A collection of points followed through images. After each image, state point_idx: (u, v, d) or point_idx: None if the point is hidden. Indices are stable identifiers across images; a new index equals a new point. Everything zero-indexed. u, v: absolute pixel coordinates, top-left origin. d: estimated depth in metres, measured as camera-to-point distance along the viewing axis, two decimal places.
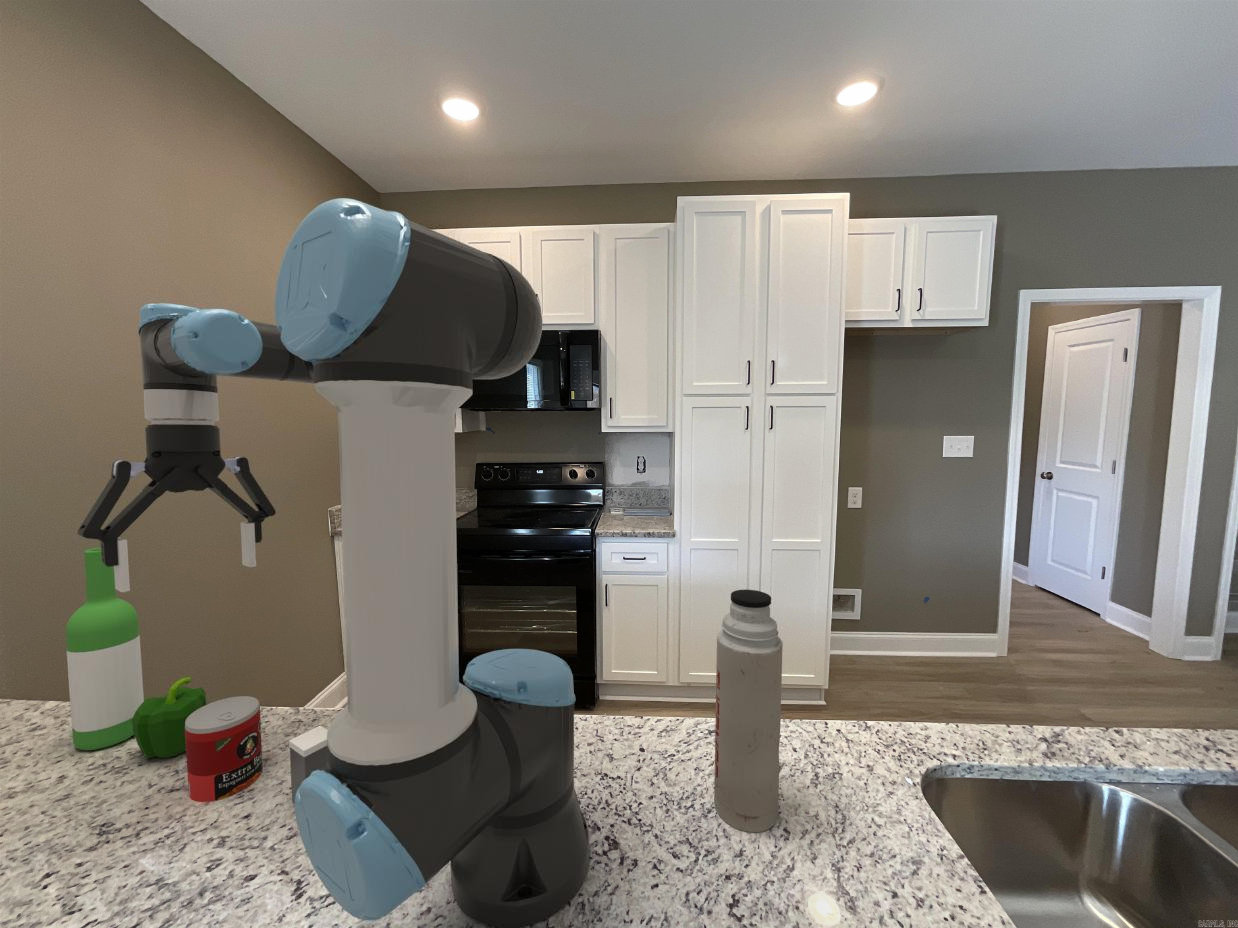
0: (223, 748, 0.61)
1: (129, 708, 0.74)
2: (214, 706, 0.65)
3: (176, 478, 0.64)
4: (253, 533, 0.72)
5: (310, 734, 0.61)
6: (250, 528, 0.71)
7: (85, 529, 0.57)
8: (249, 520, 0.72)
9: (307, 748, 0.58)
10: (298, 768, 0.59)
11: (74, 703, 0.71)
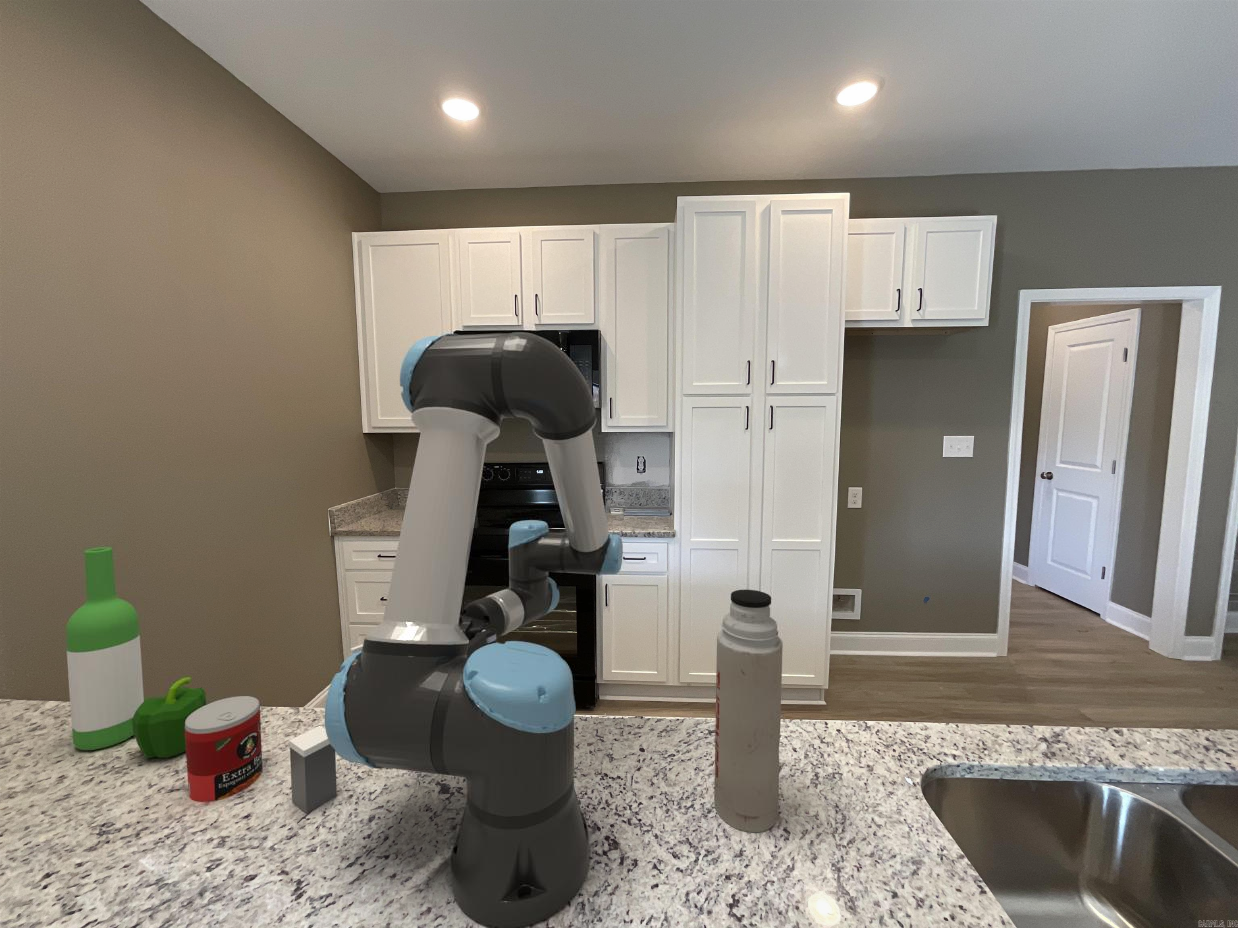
0: (223, 748, 0.61)
1: (129, 708, 0.74)
2: (214, 706, 0.65)
3: None
4: None
5: (310, 734, 0.61)
6: None
7: None
8: None
9: (307, 748, 0.58)
10: (298, 768, 0.59)
11: (74, 703, 0.71)
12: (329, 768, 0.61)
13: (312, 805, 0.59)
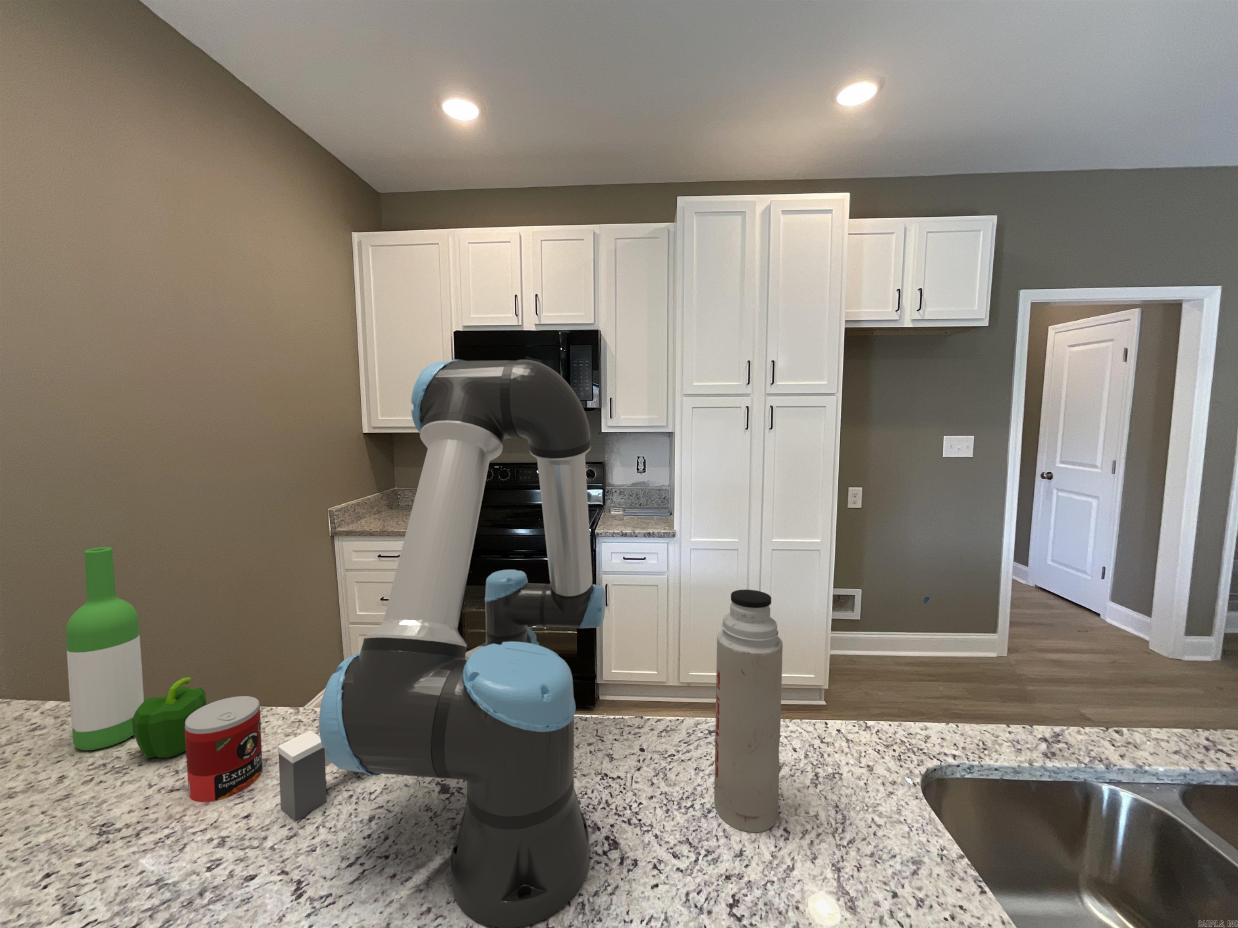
0: (223, 748, 0.61)
1: (129, 708, 0.74)
2: (214, 706, 0.65)
3: None
4: None
5: (299, 739, 0.60)
6: None
7: None
8: None
9: (296, 754, 0.57)
10: (287, 774, 0.58)
11: (74, 703, 0.71)
12: (318, 774, 0.60)
13: (301, 812, 0.58)
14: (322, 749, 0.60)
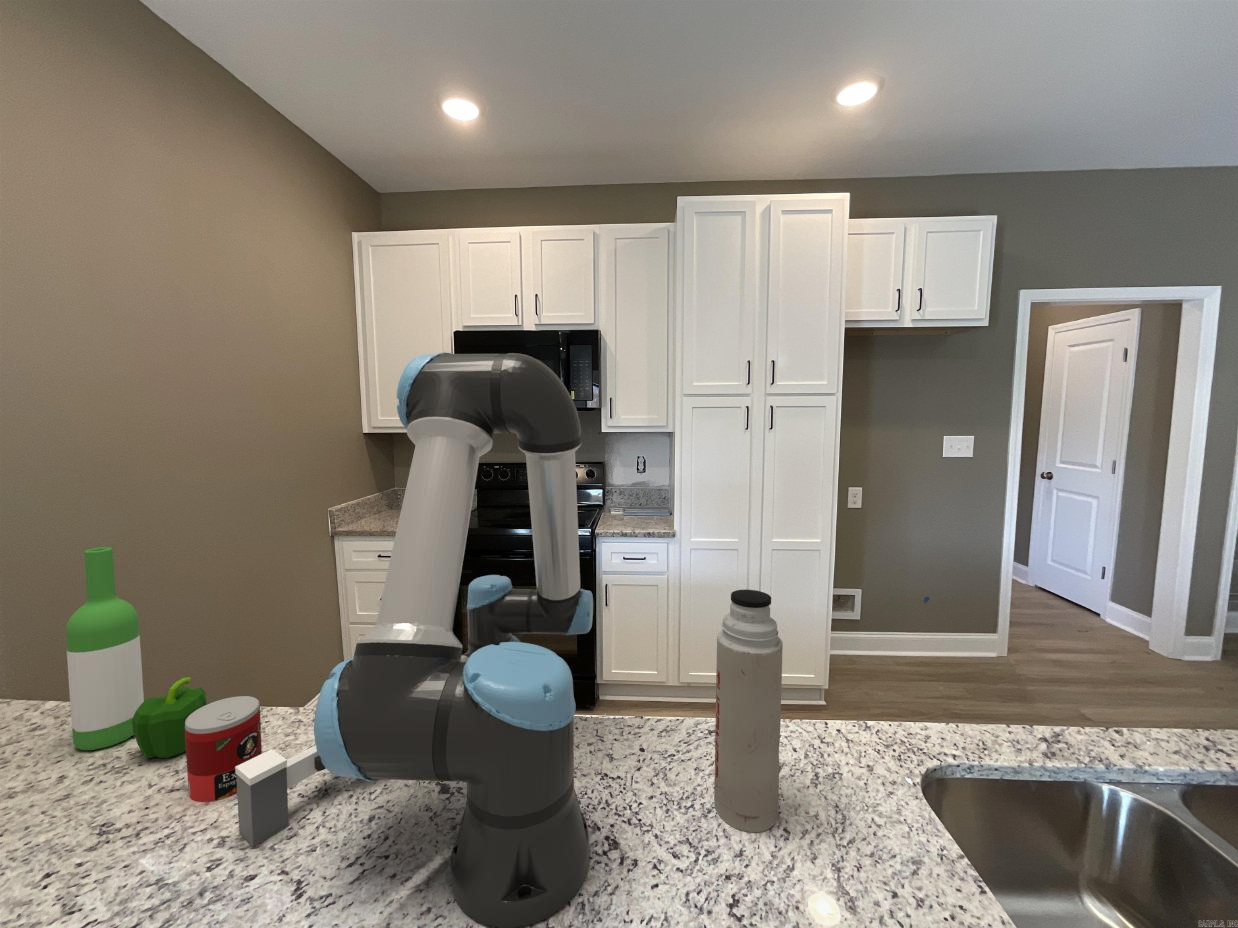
0: (223, 748, 0.61)
1: (129, 708, 0.74)
2: (214, 706, 0.65)
3: None
4: None
5: (259, 759, 0.56)
6: None
7: None
8: None
9: (254, 776, 0.54)
10: (244, 797, 0.54)
11: (74, 703, 0.71)
12: (279, 796, 0.56)
13: (260, 837, 0.54)
14: (283, 769, 0.56)
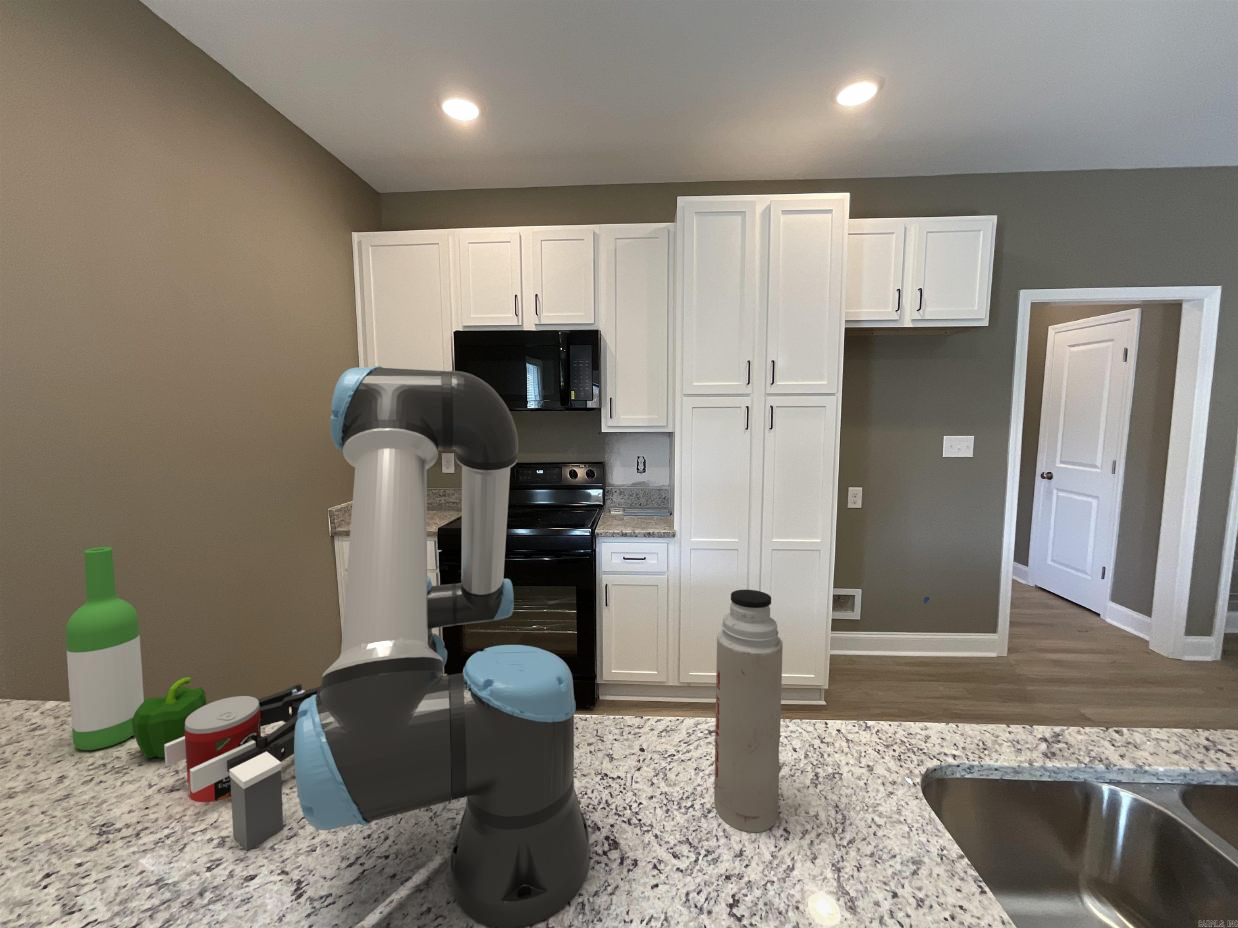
0: (223, 748, 0.61)
1: (129, 708, 0.74)
2: (214, 706, 0.65)
3: (305, 693, 0.73)
4: (241, 748, 0.62)
5: (254, 762, 0.56)
6: (247, 743, 0.62)
7: None
8: None
9: (248, 779, 0.53)
10: (238, 800, 0.54)
11: (74, 703, 0.71)
12: (274, 799, 0.55)
13: (254, 841, 0.54)
14: (278, 772, 0.56)
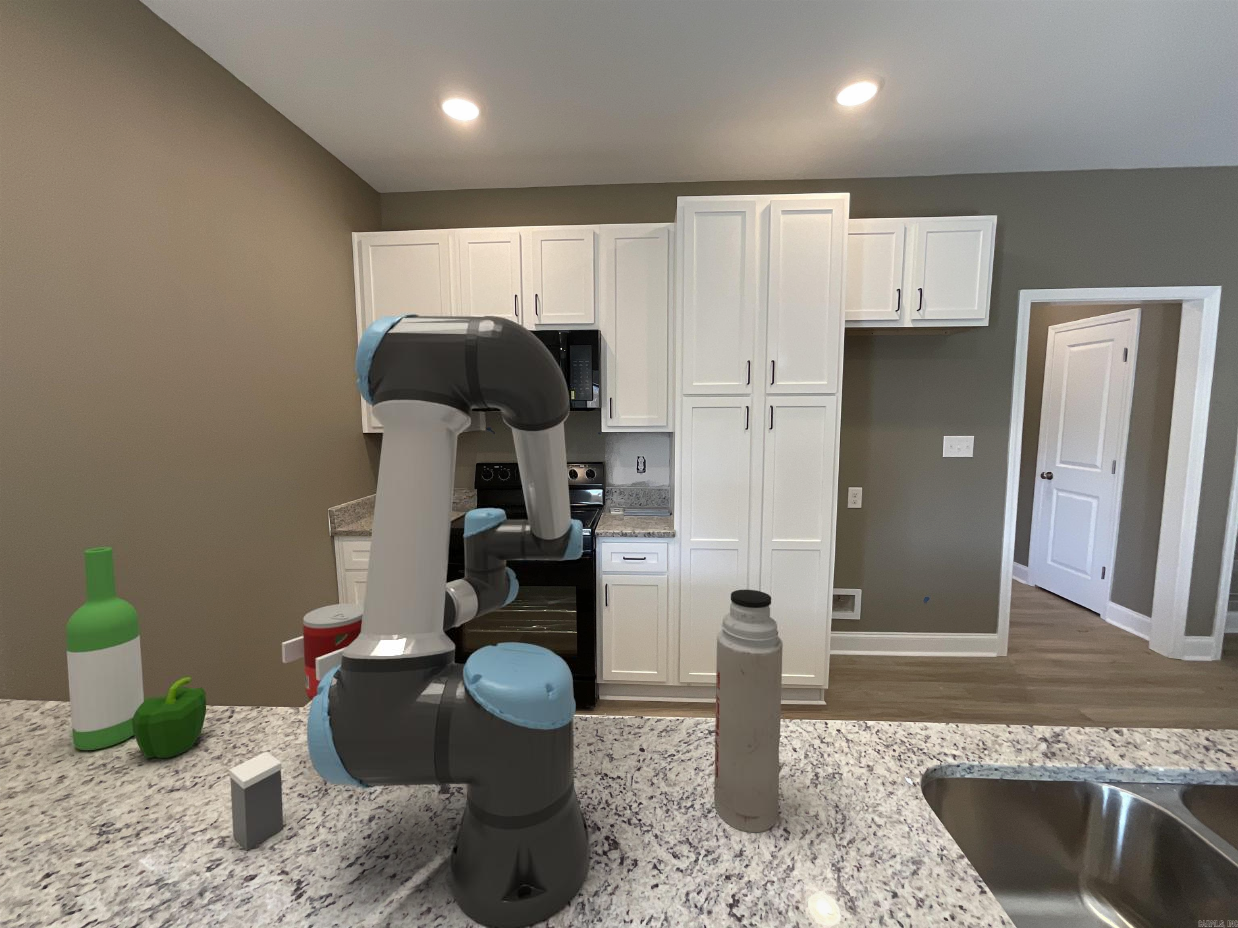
0: (341, 643, 0.64)
1: (129, 708, 0.74)
2: (324, 610, 0.68)
3: None
4: None
5: (254, 762, 0.56)
6: None
7: None
8: None
9: (248, 779, 0.53)
10: (238, 800, 0.54)
11: (74, 703, 0.71)
12: (274, 799, 0.55)
13: (254, 841, 0.54)
14: (278, 772, 0.56)
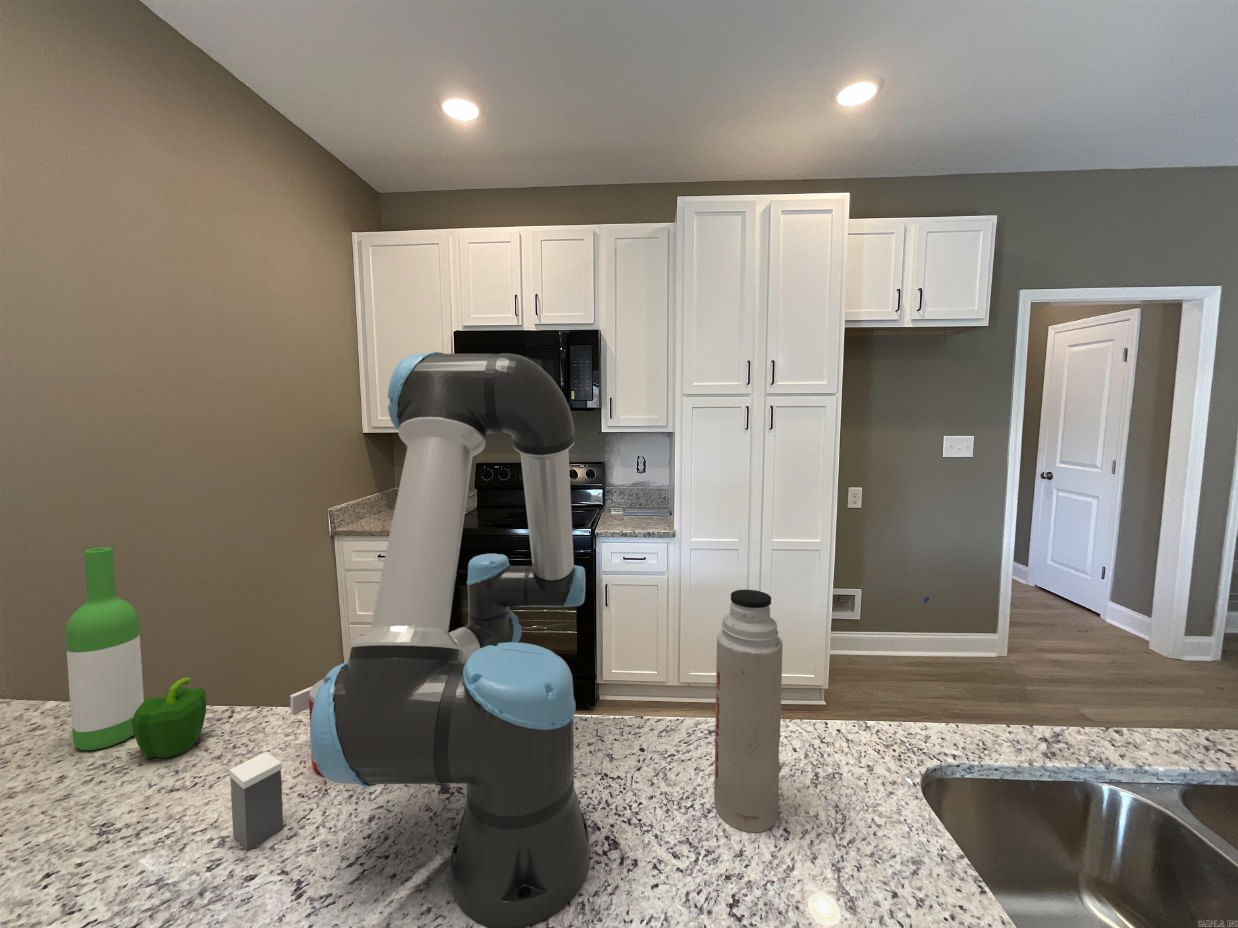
0: None
1: (129, 708, 0.74)
2: None
3: None
4: None
5: (254, 762, 0.56)
6: None
7: None
8: None
9: (248, 779, 0.53)
10: (238, 800, 0.54)
11: (74, 703, 0.71)
12: (274, 799, 0.55)
13: (254, 841, 0.54)
14: (278, 772, 0.56)
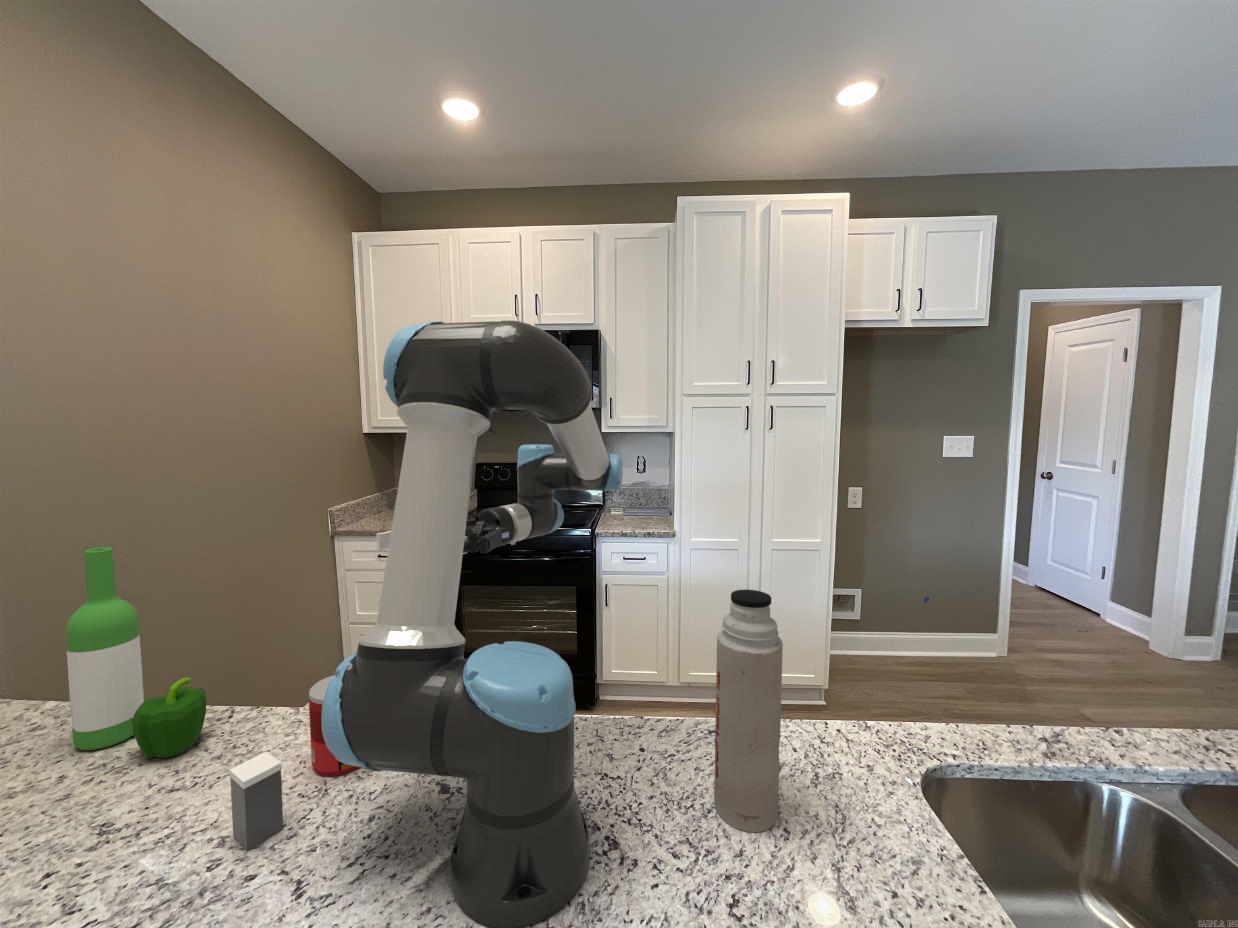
0: None
1: (129, 708, 0.74)
2: None
3: (466, 520, 0.88)
4: None
5: (254, 762, 0.56)
6: None
7: None
8: None
9: (248, 779, 0.53)
10: (238, 800, 0.54)
11: (74, 703, 0.71)
12: (274, 799, 0.55)
13: (254, 841, 0.54)
14: (278, 772, 0.56)
